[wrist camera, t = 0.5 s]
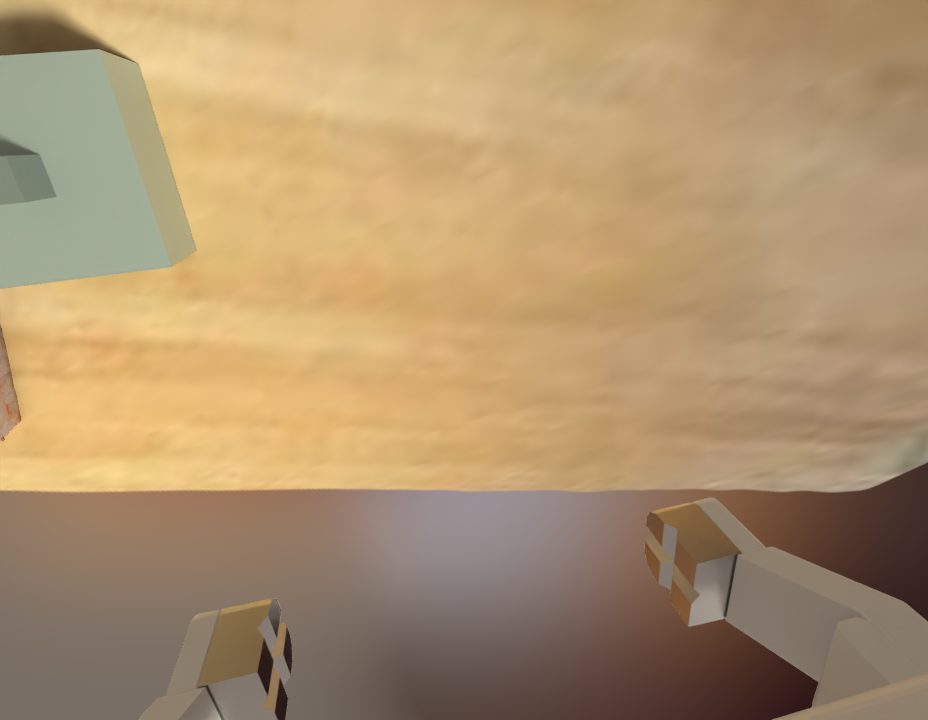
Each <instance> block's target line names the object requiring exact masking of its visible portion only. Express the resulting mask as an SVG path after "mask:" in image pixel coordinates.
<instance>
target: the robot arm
mask: <svg viewBox="0 0 928 720" xmlns="http://www.w3.org/2000/svg"><path fill="white" fill-rule="evenodd" d="M646 526H647V527H648V528H649V530H650V531H651V533H650V535H649V536H648V537H647V539H646V540H645V555H646V559H647V563H648V566H649V568H650V570H651V572H652V574H653V576H654V577H655V579H656V580H657V582H658V583H659V584H660V585H662V586H664V587H666V588H668V589H669V590H671V595H670V601H671V603H672V604H673V605H674V607H675V608H676V610H677V611H678V613H679V614H680V615H681V617H682V618H683V620H684V621H685V623H686V624H687V626H688V627H690V626H694V625H698V624H703V623H707V622H712V621H716V620H720V619H724V618H726V621H727V622H729V623H730V624H732V625H733V626H735V627H736V628H738V629H740V630H741V631H742V632H744V633H745V634H747V635H748V636H750V637H751V638H753V639H755V640H756V641H757V642H759V643H760V644H762V645H764V646H765V647H767V648H768V649H770V650H771V651H773V652H774V653H776V654H777V655H779V656H780V657H782V658H783V659H785V660H786V661H788V662H789V663H791V664H792V665H794V666H795V667H797V668H798V669H800V670H801V671H803V672H804V673H806V674H807V675H809V676H810V677H812V678H813V679H815V680H816V681H818V682H819V684H818V687H817V690H816V693H815V697H814V700H813V704H812V708H809V709H806V710H803V711H799V712H796V713H793V714H790V715H786V716H783V717H780V718H776V719H773V720H928V622H927V621H926V620H925V619H924V618H922V617H921V616H920V615H919V614H918V613H917V612H915V611H914V610H913V609H912V608H911V607H909V606H908V605H907V604H906V603H905V602H903V601H900V600H898V599H896V598H893V597H891V596H889V595H886V594H884V593H881V592H879V591H877V590H874V589H871V588H870V587H867V586H865V585H862V584H860V583H858V582H855V581H853V580H851V579H848V578H846V577H844V576H841V575H839V574H836V573H834V572H832V571H829V570H827V569H824V568H822V567H820V566H817V565H815V564H812V563H810V562H808V561H806V560H803V559H801V558H798V557H796V556H794V555H791V554H789V553H787V552H784V551H782V550H779V549H777V548H775V547H768V548H766V547H765V546H764V545H763V544H762V543H761V542H760V541H758V539H757V538H756V537H755V536H754V535H753V534H751V532H749V530H748V529H746V528H745V527H744V526H743V525H742V524H741V523H740V522H739V521H738V520H737V519H736V518H735V517H734V516H733V515H732V514H731V513H730V512H729V511H728V510H727V509H726V508H725V507H724V506H723V505H722V504H721V503H720V502H719V501H718V500H716V499H714V498H712V497H711V498H707V499H702V500H698V501H694V502H691V503H685V504H681V505H677V506H672V507H669V508H664V509H660V510H656V511H652V512H649V514H648V516H647V522H646ZM280 616H281V608H280V606H279V603H278V601H277V599H274V598H273V599H268V600H263V601H258V602H253V603H248V604H243V605H238V606H233V607H228V608H224V609H220V610H216V611H211V612H206V613H201V614H197V615H196V616H195V617H194V619H193V620H192V621H191V623H190V626H189V629H188V631H187V634H186V637H185V640H184V643H183V646H182V649H181V651H180V655H179V658H178V660H177V663H176V666H175V669H174V672H173V675H172V678H171V681H170V684H169V686H168V689H167V692H166V695H165V697H162V698H158V699H156V700H155V701H154V702H153V704H151V706H150V707H149V708H148V709H147V710H146V711H145V712H144V713H143V714H142V715H141V717H140V718H139V719H138V720H285V719H286V711H287V703H288V697H287V694H286V692H285V689H284V684H285V683H286V682H287V680H288V679H289V677H290V676H291V669H292V643H291V638H290V633H289V630H288V627H287V625H285V624H283V623H282V622H280Z"/></svg>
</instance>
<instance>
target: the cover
mask: <svg viewBox="0 0 928 720" xmlns="http://www.w3.org/2000/svg"><path fill="white" fill-rule="evenodd" d="M195 251H197V250H196V247H195V244H194V240H193V237H192V234H191V231H190V227H189V224H188V221H187V218H186V215H185V211H184V208H183V205H182V202H181V198H180V195H179V192H178V189H177V186H176V182H175V179H174V176H173V173H172V169H171V166H170V163H169V160H168V157H167V153H166V150H165V147H164V144H163V140H162V137H161V134H160V131H159V128H158V124H157V121H156V118H155V115H154V111H153V108H152V105H151V102H150V99H149V95H148V92H147V89H146V86H145V83H144V79H143V76H142V73H141V70H140V66H139V64H138V63H135V62H132V61H130V60H127V59H124V58H121V57H119V56H116V55H113V54H111V53H108V52H105V51H103V50H100V49H92V50H77V51H62V52H47V53H32V54H17V55H2V56H0V289H2V288H10V287H18V286H26V285H34V284H42V283H50V282H57V281H65V280H73V279H81V278H89V277H97V276H105V275H113V274H121V273H129V272H136V271H144V270H152V269H160V268H168V267H173V266H174V265H176V264H177V263H179V262H180V261H182V260H183V259H185V258H186V257H188V256H189V255H191V254H192V253H194V252H195Z"/></svg>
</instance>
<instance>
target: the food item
mask: <svg viewBox="0 0 928 720" xmlns="http://www.w3.org/2000/svg"><path fill="white" fill-rule="evenodd" d="M19 422H21V416H20V411H19V406H18V401H17V396H16V392H15V389H14V385H13V379H12V374H11V370H10V364H9V360H8V356H7V351H6V345H5V341H4V338H3V334H2V328H1V326H0V441H1V440H2V441H4V440H5V439H4V437H5V436H6V435H7V434H8V433H9V431H10V430H12V429H13V427H14V426H16V425H17V424H18V423H19Z"/></svg>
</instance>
